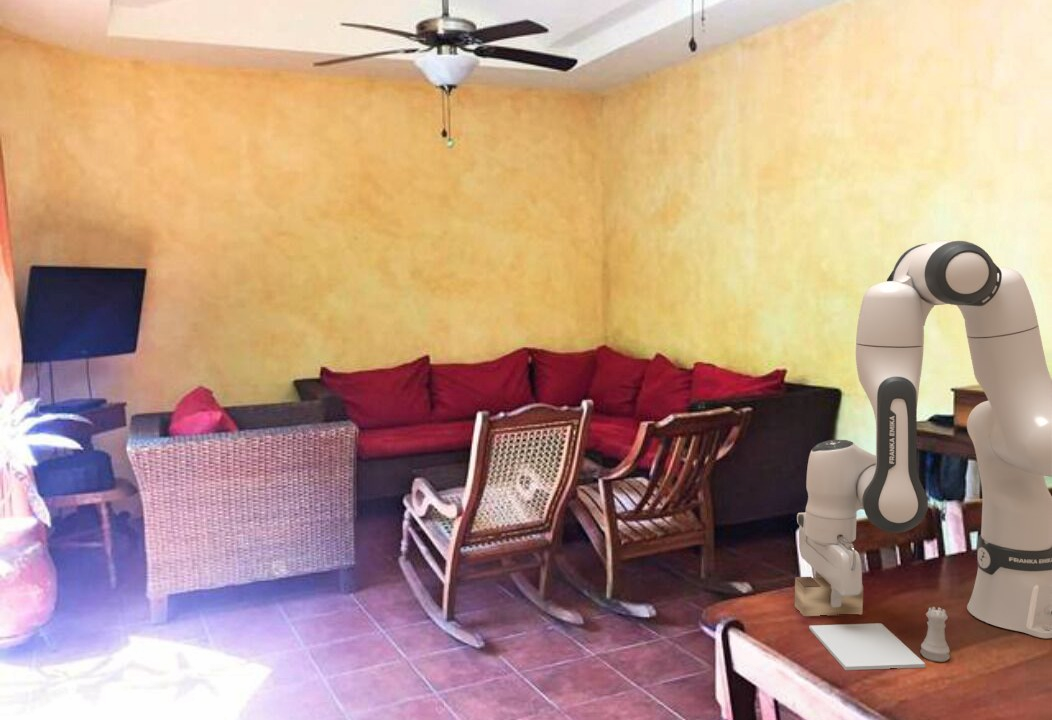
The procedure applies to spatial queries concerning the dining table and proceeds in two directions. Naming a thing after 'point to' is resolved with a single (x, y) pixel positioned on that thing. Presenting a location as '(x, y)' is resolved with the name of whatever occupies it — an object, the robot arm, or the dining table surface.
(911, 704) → the dining table surface
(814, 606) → the maple block
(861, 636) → the rubber mat
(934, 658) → the rook chess piece
